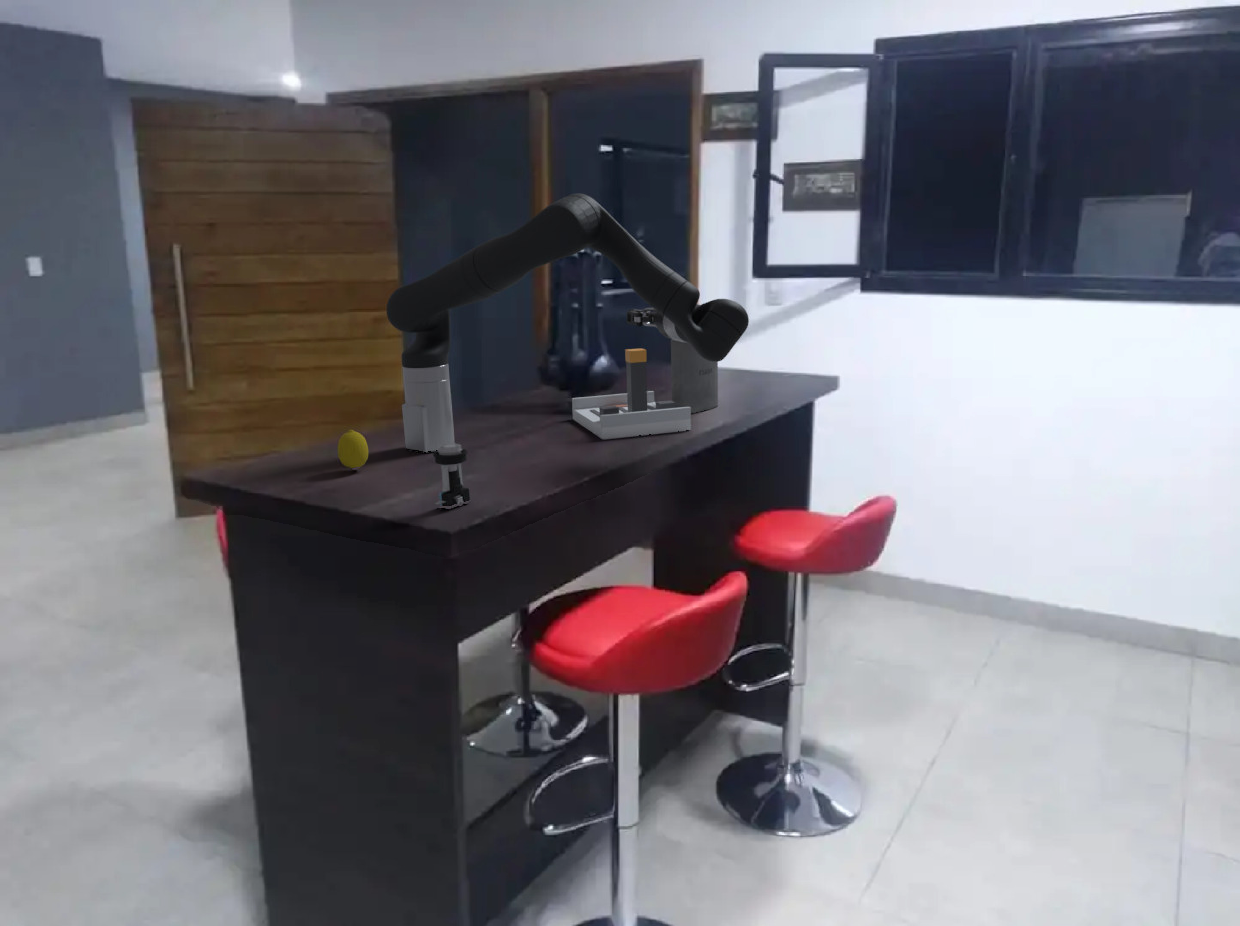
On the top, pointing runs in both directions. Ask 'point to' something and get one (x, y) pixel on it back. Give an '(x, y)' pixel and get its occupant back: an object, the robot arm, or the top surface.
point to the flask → (693, 378)
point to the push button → (451, 474)
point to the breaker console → (629, 416)
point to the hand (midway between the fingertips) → (652, 313)
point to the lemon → (352, 449)
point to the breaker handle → (636, 379)
